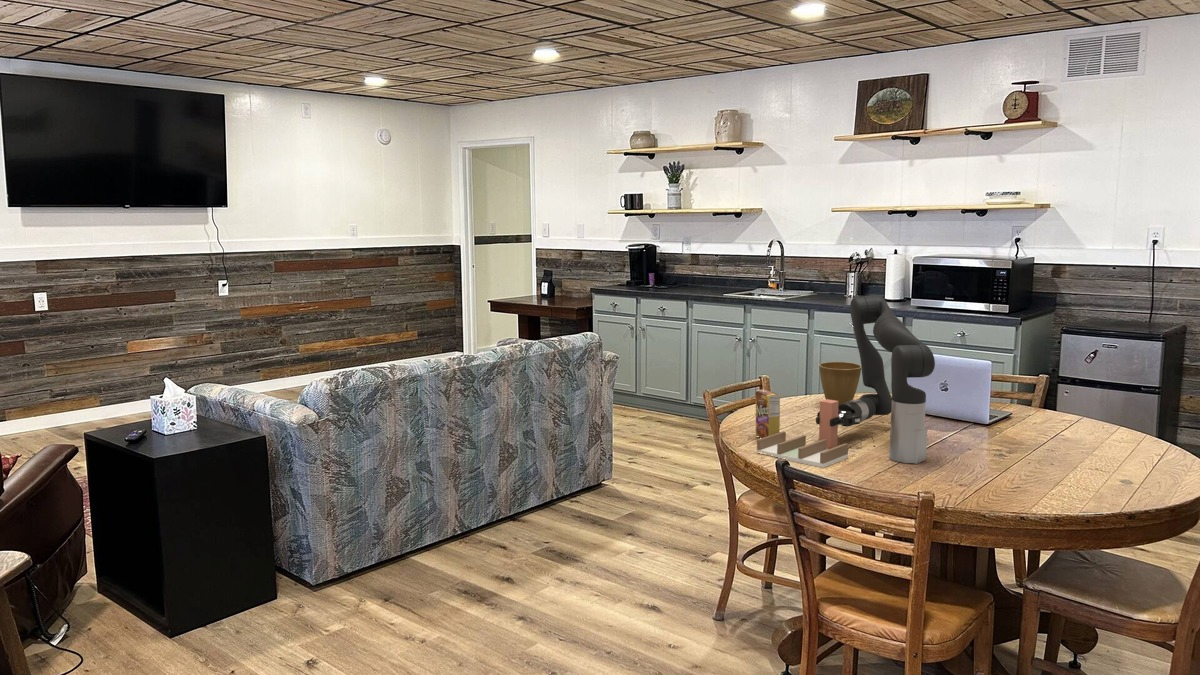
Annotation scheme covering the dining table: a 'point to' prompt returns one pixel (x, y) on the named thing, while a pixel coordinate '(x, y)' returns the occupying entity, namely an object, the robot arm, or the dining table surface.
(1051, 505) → the dining table surface
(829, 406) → the slim block
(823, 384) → the plant pot
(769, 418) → the candy box
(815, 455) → the comb rack
